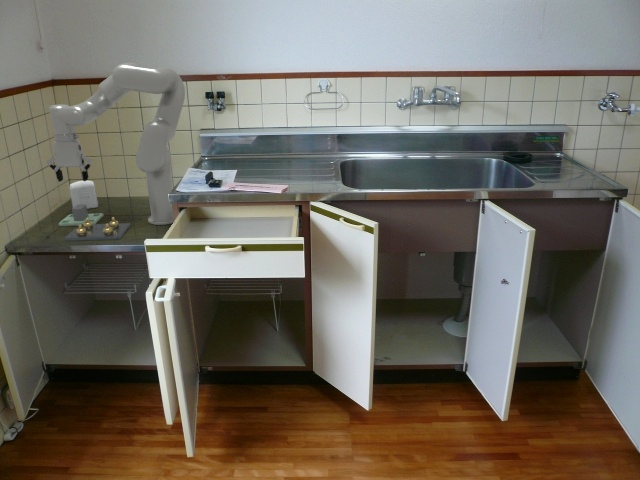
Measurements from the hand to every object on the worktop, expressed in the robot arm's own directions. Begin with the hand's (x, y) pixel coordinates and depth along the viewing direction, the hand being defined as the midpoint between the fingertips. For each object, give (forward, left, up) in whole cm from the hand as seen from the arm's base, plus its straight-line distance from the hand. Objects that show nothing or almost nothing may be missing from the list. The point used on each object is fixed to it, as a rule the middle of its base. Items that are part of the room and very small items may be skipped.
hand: (73, 180), depth 211 cm
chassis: (-12, +15, -17) cm, 26 cm away
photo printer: (+4, -16, -17) cm, 24 cm away
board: (0, 0, -17) cm, 17 cm away
